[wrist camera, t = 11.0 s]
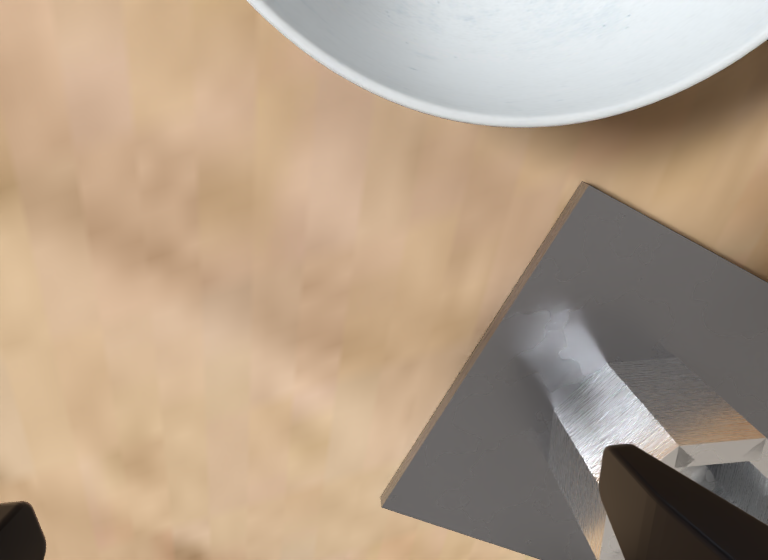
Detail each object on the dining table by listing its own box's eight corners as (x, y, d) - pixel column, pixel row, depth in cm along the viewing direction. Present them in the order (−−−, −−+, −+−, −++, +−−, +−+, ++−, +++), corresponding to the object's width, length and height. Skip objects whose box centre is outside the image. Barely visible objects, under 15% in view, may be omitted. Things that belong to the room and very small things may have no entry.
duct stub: (652, 587, 28) (701, 670, 24) (380, 497, 24) (388, 578, 21) (879, 343, 23) (984, 400, 19) (582, 181, 19) (641, 211, 16)
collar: (724, 353, 22) (826, 432, 17) (689, 506, 25) (767, 607, 21) (557, 366, 22) (616, 451, 17) (542, 520, 25) (589, 626, 20)
